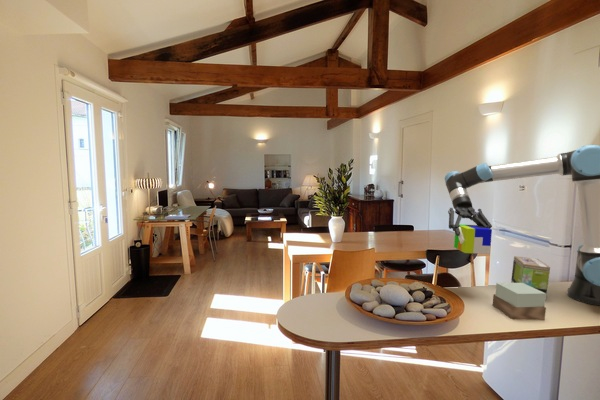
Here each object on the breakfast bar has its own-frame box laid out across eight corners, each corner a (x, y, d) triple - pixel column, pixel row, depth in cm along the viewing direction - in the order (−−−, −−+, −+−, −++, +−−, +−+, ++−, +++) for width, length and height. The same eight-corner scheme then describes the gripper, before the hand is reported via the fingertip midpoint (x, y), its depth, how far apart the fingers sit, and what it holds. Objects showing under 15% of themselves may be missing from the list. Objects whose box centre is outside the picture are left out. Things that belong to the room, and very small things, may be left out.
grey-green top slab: (521, 295, 134) (522, 282, 133) (544, 306, 123) (545, 293, 122) (495, 295, 132) (496, 282, 132) (516, 307, 121) (517, 293, 121)
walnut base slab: (522, 307, 134) (523, 295, 134) (544, 321, 123) (546, 307, 122) (492, 306, 134) (493, 294, 134) (511, 320, 122) (512, 306, 122)
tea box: (546, 301, 141) (551, 266, 139) (519, 297, 144) (522, 263, 142) (535, 289, 155) (538, 258, 153) (509, 286, 158) (513, 255, 157)
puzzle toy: (489, 253, 137) (491, 229, 136) (464, 253, 137) (466, 228, 136) (477, 248, 147) (479, 225, 146) (454, 247, 147) (455, 224, 146)
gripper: (482, 206, 156) (499, 248, 142) (432, 204, 156) (444, 246, 142) (489, 195, 150) (508, 238, 136) (438, 194, 150) (451, 236, 136)
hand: (475, 242), depth 139 cm, fingers closed on puzzle toy, 10 cm apart
